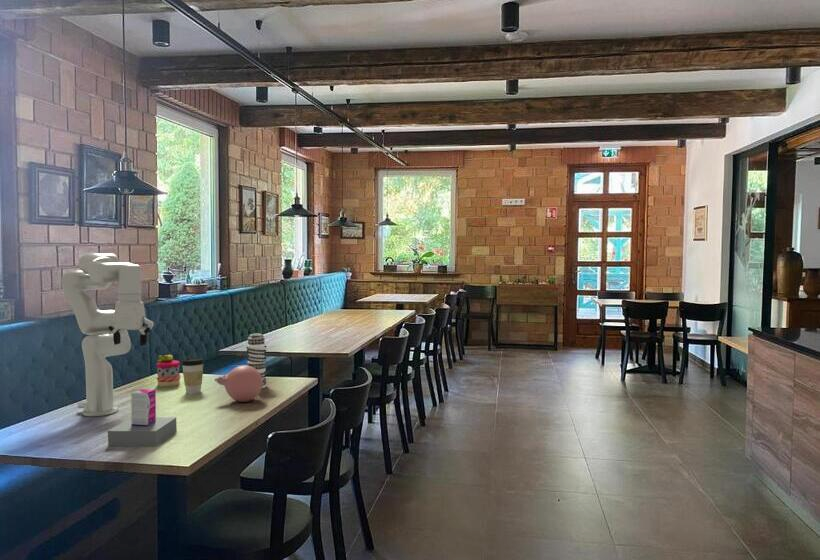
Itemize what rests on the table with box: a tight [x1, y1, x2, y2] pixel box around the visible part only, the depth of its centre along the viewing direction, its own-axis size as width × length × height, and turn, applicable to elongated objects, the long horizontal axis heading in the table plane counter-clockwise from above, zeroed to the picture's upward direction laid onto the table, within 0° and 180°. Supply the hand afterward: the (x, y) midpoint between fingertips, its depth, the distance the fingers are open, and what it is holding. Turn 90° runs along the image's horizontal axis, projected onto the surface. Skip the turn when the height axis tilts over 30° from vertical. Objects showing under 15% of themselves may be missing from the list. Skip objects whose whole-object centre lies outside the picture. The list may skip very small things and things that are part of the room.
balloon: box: [214, 364, 263, 403], centre depth 252 cm, size 15×20×15 cm
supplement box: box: [130, 388, 157, 426], centre depth 202 cm, size 6×6×12 cm
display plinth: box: [107, 416, 178, 447], centre depth 202 cm, size 16×16×5 cm
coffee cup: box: [180, 357, 205, 395], centre depth 268 cm, size 10×10×15 cm
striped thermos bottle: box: [246, 333, 267, 389], centre depth 278 cm, size 9×9×25 cm
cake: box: [156, 354, 182, 388], centre depth 284 cm, size 10×11×15 cm
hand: (130, 344), depth 216 cm, fingers open, 9 cm apart
